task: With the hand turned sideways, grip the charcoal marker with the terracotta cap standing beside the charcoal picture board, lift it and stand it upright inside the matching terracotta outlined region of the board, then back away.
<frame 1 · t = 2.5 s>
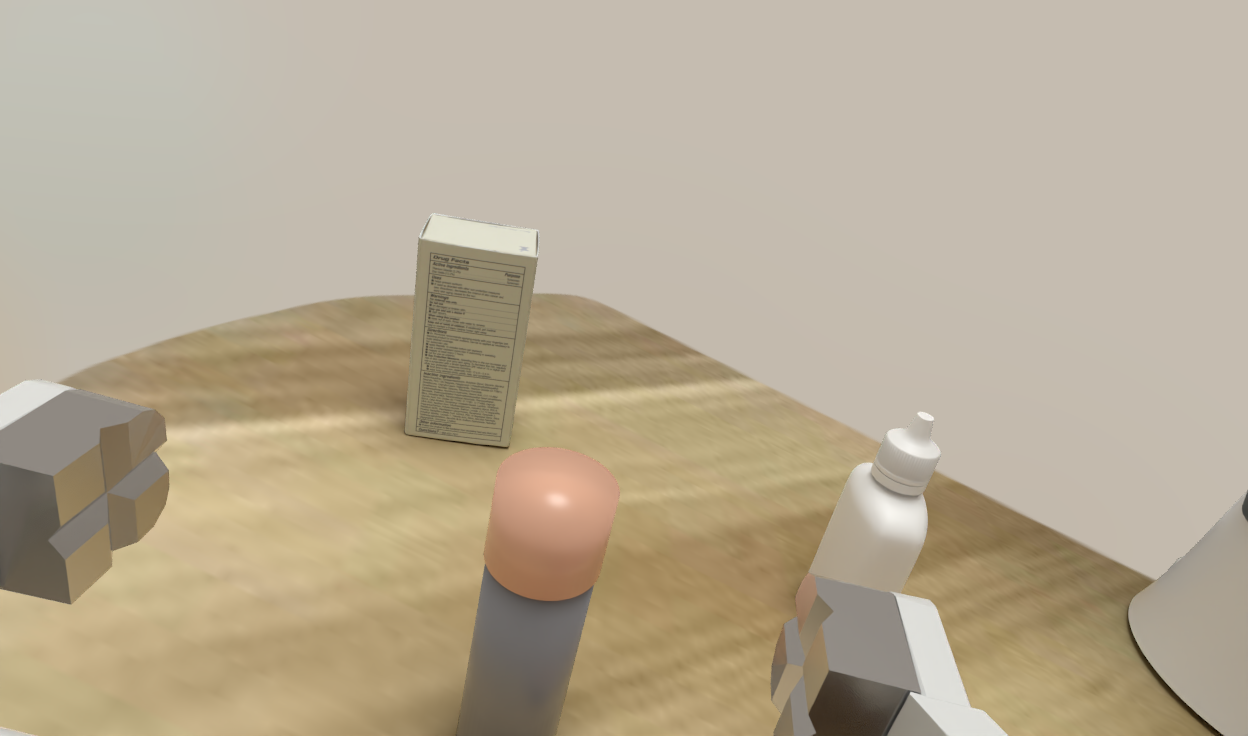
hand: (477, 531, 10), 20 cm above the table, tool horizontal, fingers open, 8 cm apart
skincare box: (458, 426, 48), on the table
eye dropper bottle: (832, 622, 39), on the table
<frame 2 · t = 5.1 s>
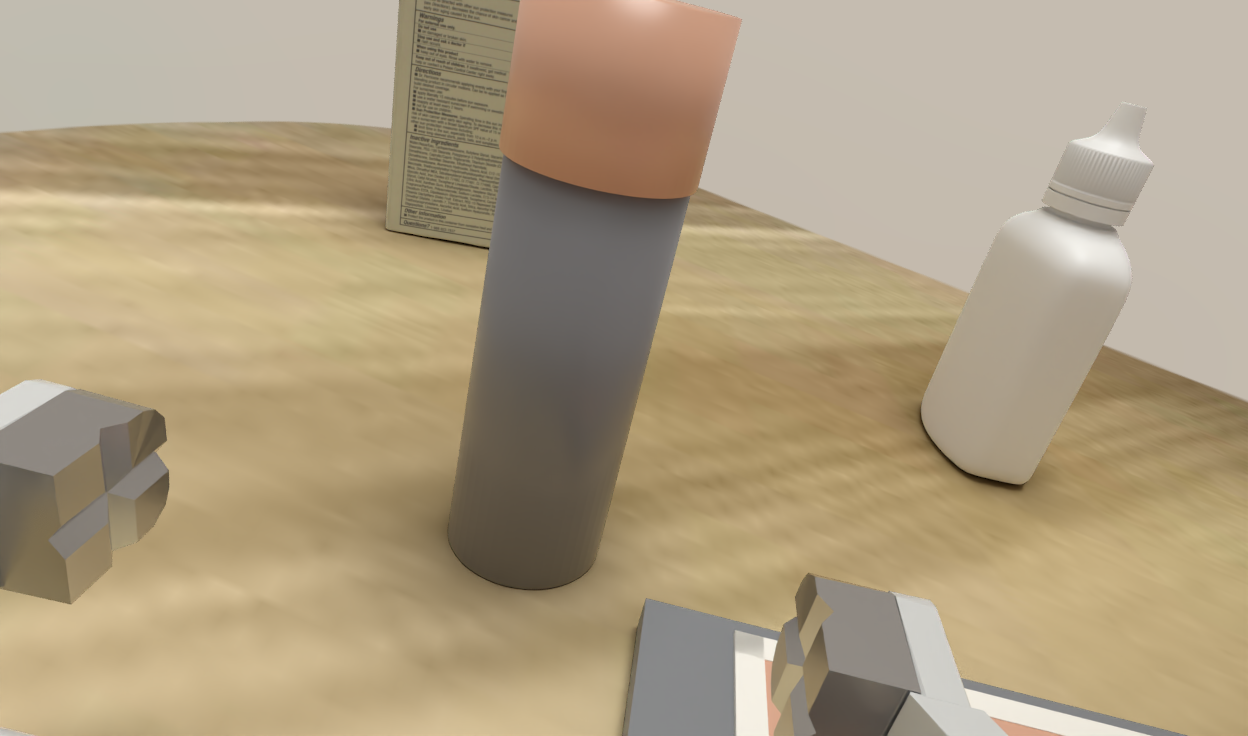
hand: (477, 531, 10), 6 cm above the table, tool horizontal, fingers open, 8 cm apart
terracotta marker: (524, 535, 19), on the table
skincare box: (455, 232, 37), on the table
eye dropper bottle: (966, 447, 29), on the table
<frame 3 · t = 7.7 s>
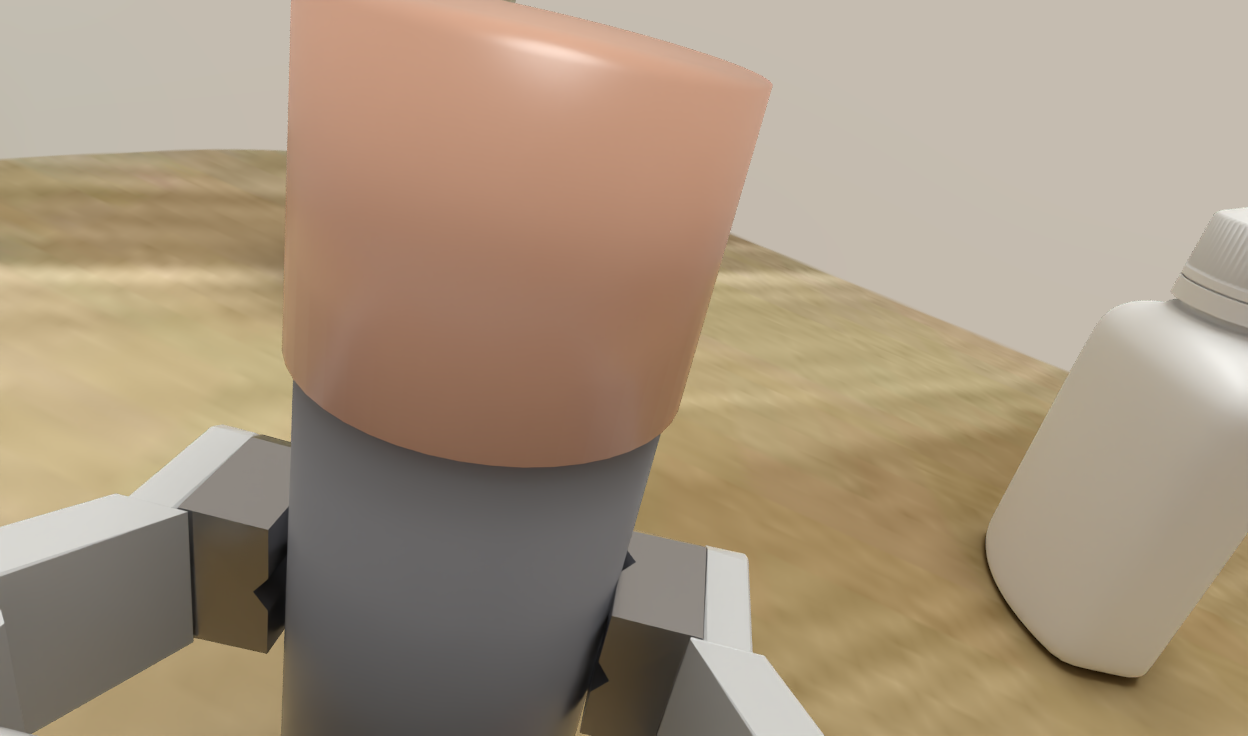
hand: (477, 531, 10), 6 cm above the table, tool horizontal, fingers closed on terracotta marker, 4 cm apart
eye dropper bottle: (1050, 605, 22), on the table
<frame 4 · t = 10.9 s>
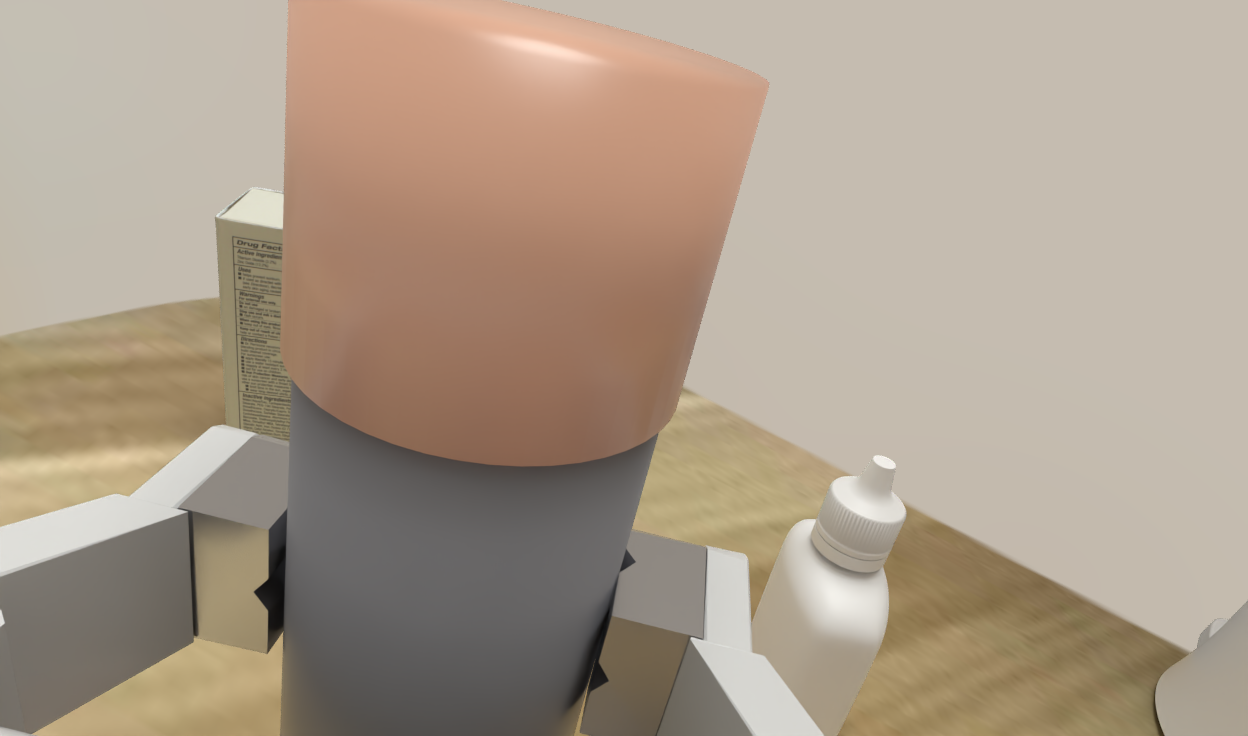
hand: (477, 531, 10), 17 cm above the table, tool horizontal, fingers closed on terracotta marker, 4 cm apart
skincare box: (306, 460, 38), on the table
eye dropper bottle: (767, 730, 29), on the table
when the fingers open (8 cm above the table, at t = 14.1 s): terracotta marker drops 1 cm, resting on picture board.
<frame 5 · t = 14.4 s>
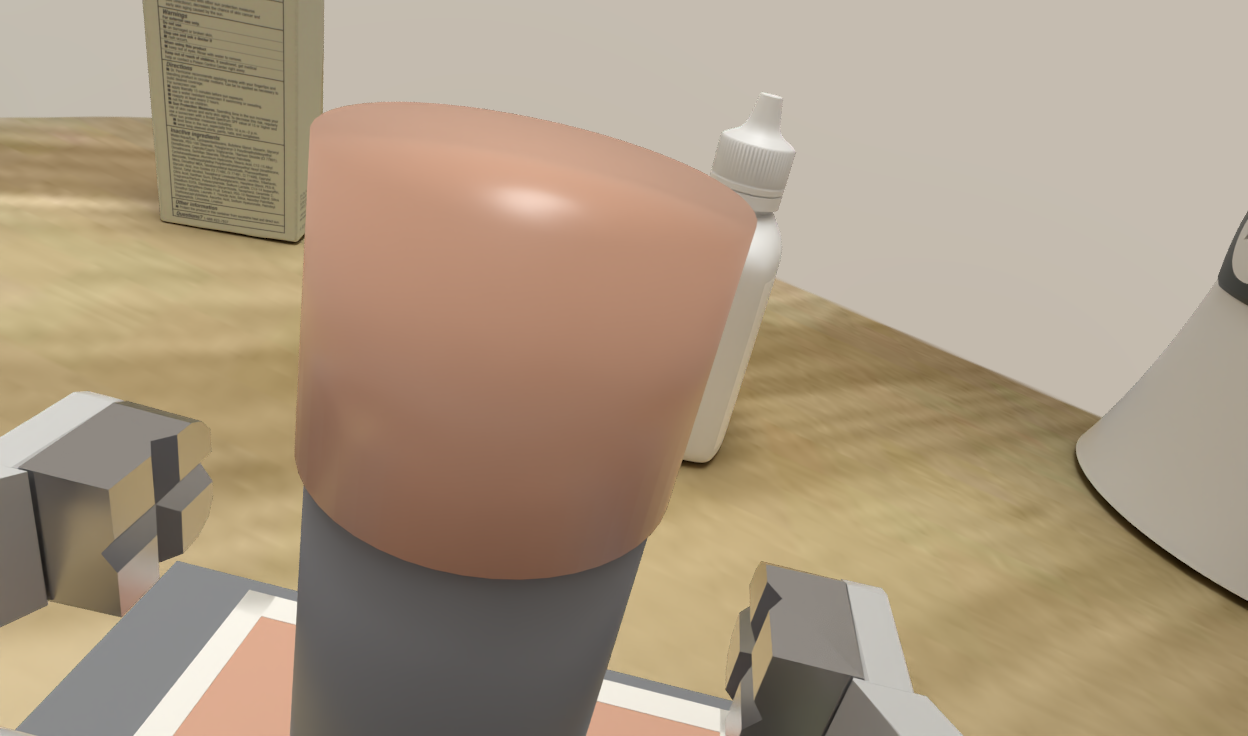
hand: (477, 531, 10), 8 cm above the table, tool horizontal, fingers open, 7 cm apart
skincare box: (241, 224, 38), on the table
eye dropper bottle: (676, 428, 30), on the table
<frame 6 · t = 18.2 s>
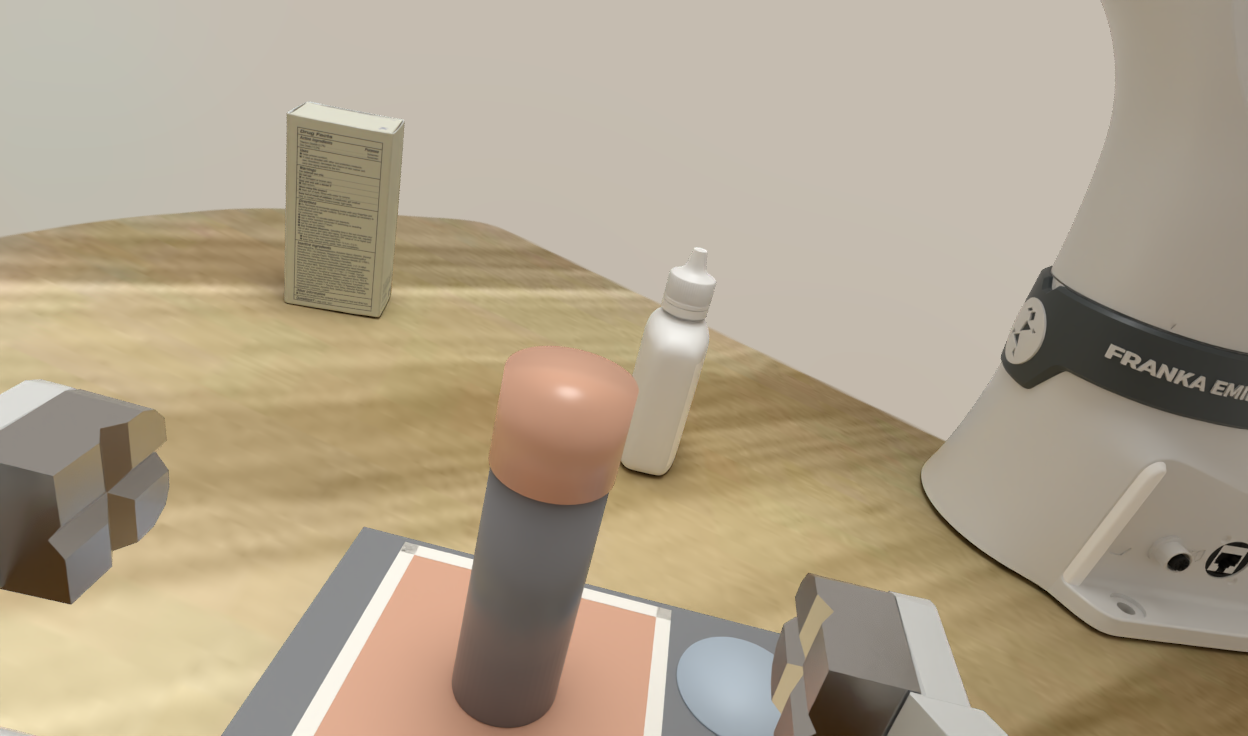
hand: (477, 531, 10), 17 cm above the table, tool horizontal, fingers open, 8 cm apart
terracotta marker: (504, 682, 27), point 1 cm above the table, touching picture board
skincare box: (337, 302, 53), on the table
eye dropper bottle: (643, 452, 45), on the table
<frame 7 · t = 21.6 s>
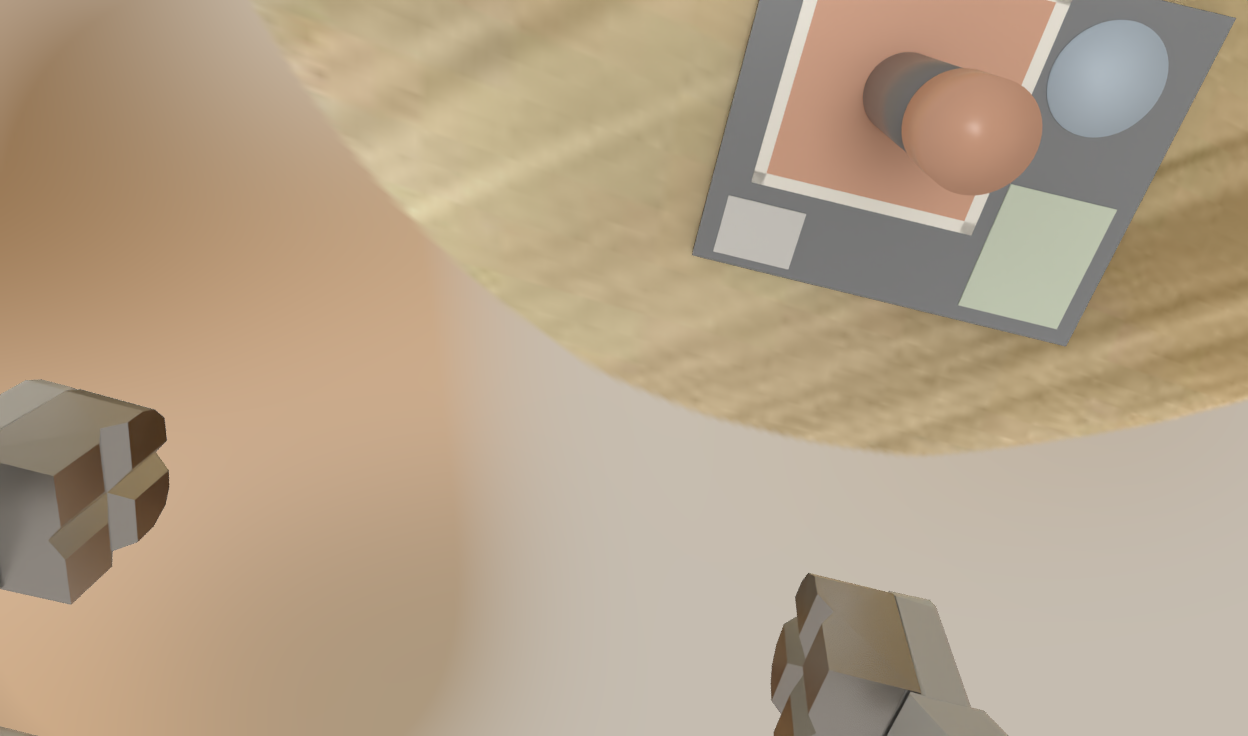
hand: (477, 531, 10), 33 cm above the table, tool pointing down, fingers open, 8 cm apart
terracotta marker: (902, 93, 37), point 1 cm above the table, touching picture board
picture board: (933, 145, 38), on the table
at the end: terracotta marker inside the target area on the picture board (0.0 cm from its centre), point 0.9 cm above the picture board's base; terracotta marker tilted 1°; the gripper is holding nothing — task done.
